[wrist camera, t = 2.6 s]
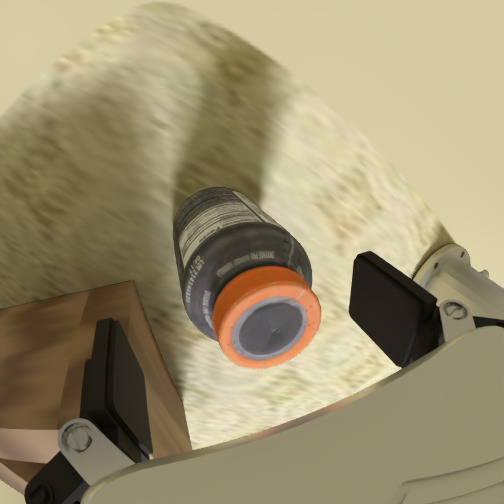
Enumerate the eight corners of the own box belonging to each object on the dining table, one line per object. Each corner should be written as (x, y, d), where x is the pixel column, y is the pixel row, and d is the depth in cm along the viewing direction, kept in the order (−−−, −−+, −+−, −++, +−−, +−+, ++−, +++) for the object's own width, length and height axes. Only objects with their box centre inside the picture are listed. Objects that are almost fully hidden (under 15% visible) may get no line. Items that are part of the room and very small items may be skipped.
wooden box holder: (133, 280, 20) (125, 425, 9) (183, 404, 26) (207, 509, 16) (-15, 312, 17) (-68, 417, 6) (60, 419, 23) (53, 512, 13)
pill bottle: (249, 269, 22) (318, 379, 12) (169, 265, 20) (186, 393, 10) (264, 190, 20) (365, 261, 10) (177, 180, 18) (198, 253, 8)
